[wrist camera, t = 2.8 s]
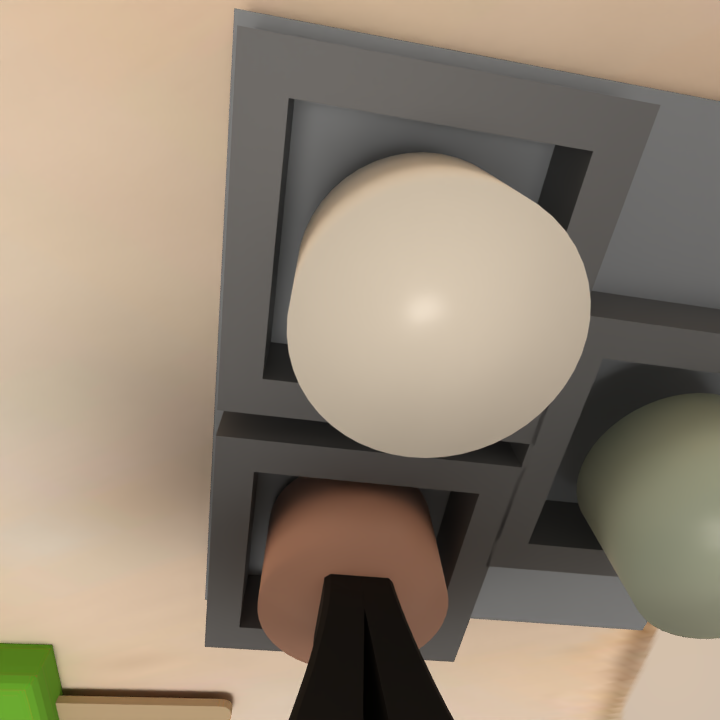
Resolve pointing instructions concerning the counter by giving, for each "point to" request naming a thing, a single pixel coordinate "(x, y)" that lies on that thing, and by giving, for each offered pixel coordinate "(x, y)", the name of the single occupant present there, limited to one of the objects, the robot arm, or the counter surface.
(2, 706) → the striped ice pop
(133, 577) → the counter surface
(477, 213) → the cream button
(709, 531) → the sage button
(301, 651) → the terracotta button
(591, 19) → the counter surface
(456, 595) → the grey compartment tray
